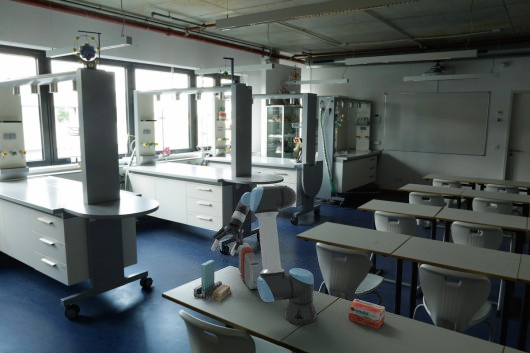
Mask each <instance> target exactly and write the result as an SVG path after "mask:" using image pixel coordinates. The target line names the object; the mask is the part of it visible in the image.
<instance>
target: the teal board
mask: <svg viewBox="0 0 530 353" xmlns="http://www.w3.org/2000/svg"><path fill="white" fill-rule="evenodd" d="M200 272H201V273H200V276H201V278H200V279H201V284H202V291H203V290H205V289H206V288H208V287H210V286H211V285H213V284H215V283H216V282H215V260H213V259H210V260H208V261H205V262H203V263H201V264H200ZM201 284H200V285H201Z"/></svg>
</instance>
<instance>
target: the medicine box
mask: <svg viewBox="0 0 530 353" xmlns="http://www.w3.org/2000/svg"><path fill="white" fill-rule="evenodd" d="M385 317H386V308H385V306H383V305H378V304H375V303H372V302H367V301H364V300H360V299H358V298H354V300H353V301H352V302H350V304H349V306H348V320H349V321H351V322H354V323H358V324H361V325H364V326H367V327H370V328H374V329H377V330H380V328H381V327H382V325H383V323H385Z"/></svg>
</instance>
